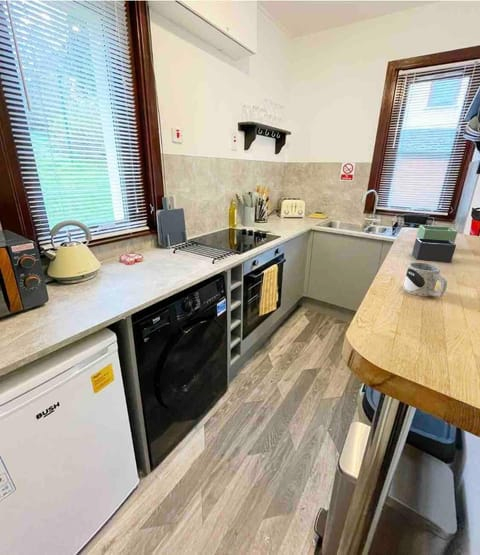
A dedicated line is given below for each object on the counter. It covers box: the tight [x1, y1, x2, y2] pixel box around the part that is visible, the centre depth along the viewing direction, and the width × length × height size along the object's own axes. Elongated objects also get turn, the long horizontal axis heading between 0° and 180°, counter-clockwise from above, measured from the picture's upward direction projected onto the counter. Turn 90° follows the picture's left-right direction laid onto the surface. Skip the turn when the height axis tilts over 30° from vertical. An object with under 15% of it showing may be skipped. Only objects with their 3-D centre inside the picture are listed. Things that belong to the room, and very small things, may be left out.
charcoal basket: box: [411, 238, 457, 264], centre depth 93 cm, size 10×6×6 cm, turn 72°
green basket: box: [415, 224, 458, 244], centre depth 103 cm, size 10×8×8 cm
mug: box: [402, 261, 448, 298], centre depth 68 cm, size 10×7×7 cm, turn 14°
